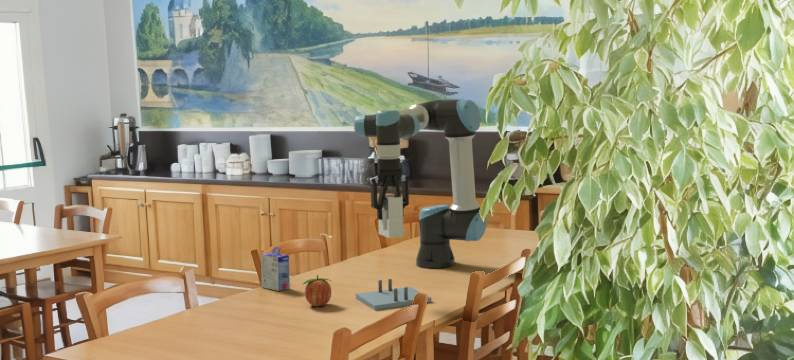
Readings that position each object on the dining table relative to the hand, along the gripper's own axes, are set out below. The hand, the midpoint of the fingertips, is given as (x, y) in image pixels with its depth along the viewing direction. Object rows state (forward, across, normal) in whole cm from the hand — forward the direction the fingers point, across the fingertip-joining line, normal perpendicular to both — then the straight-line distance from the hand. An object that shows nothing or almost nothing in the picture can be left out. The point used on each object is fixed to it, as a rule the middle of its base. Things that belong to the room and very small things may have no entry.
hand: (390, 228), depth 276 cm
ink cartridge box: (+24, +30, -36) cm, 53 cm away
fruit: (+24, +24, -6) cm, 35 cm away
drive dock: (+24, 0, 0) cm, 24 cm away
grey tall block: (+2, 0, 0) cm, 2 cm away
